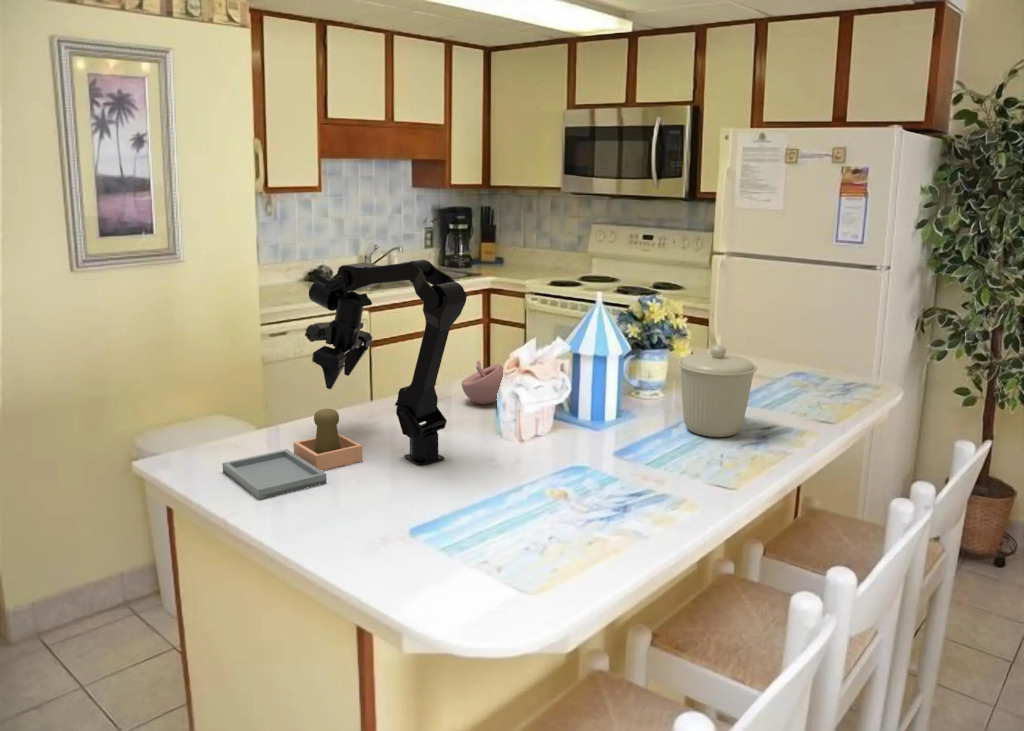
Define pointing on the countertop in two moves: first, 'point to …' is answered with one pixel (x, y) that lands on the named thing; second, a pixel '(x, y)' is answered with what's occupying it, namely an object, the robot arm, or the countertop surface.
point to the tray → (273, 473)
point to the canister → (715, 391)
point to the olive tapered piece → (326, 431)
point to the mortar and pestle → (483, 384)
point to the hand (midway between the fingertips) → (337, 381)
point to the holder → (329, 453)
